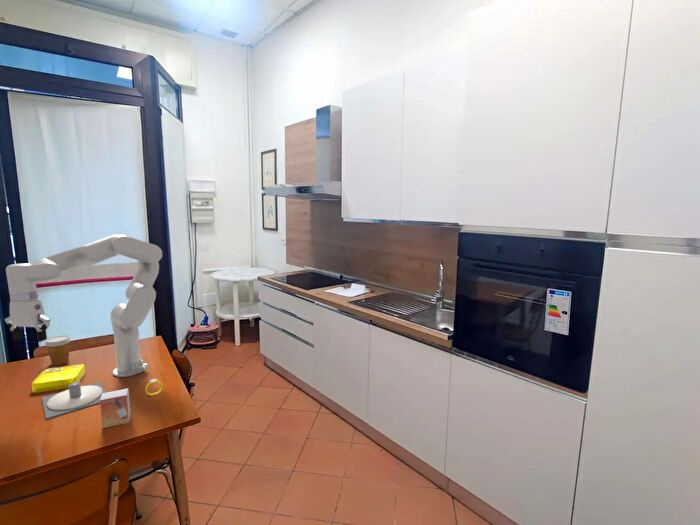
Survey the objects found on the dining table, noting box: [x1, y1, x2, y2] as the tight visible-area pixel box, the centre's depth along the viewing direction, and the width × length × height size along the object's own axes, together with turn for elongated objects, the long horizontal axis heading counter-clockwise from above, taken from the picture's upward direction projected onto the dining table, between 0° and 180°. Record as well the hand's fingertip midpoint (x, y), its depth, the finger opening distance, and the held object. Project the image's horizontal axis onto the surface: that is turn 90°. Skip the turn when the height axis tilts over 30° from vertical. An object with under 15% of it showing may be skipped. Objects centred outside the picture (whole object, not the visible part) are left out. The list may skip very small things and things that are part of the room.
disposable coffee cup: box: [44, 335, 71, 366], centre depth 169 cm, size 10×10×12 cm
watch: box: [144, 378, 164, 397], centre depth 142 cm, size 6×3×6 cm, turn 127°
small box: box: [99, 388, 131, 429], centre depth 123 cm, size 8×6×10 cm
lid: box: [47, 381, 102, 411], centre depth 137 cm, size 17×17×6 cm
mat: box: [41, 381, 107, 421], centre depth 137 cm, size 19×19×1 cm
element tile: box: [31, 363, 86, 394], centre depth 151 cm, size 15×15×5 cm
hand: (30, 340), depth 134 cm, fingers open, 9 cm apart
